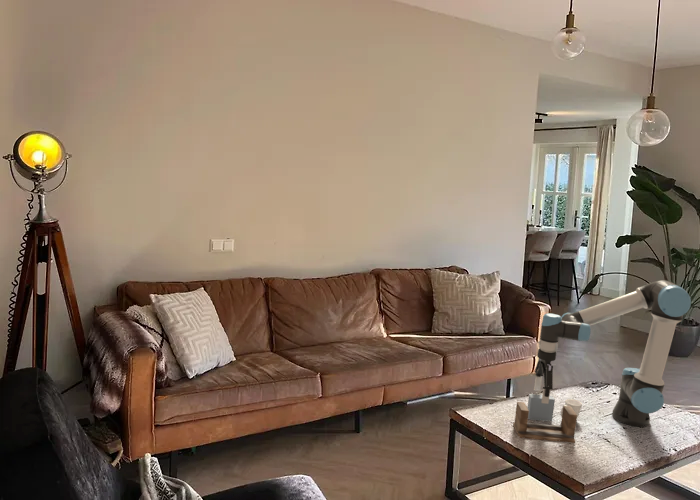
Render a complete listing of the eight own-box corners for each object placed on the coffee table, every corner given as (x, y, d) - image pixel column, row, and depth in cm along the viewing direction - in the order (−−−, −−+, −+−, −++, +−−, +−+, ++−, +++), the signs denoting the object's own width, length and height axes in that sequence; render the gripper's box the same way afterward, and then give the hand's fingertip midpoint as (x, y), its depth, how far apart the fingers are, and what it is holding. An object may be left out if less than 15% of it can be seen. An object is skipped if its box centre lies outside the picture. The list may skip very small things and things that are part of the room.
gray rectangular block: (549, 417, 258) (552, 395, 256) (552, 421, 254) (554, 399, 252) (526, 415, 258) (529, 393, 257) (528, 419, 254) (531, 397, 253)
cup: (583, 422, 255) (585, 404, 254) (566, 425, 251) (568, 407, 250) (571, 415, 261) (573, 398, 260) (554, 418, 257) (556, 400, 256)
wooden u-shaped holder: (566, 429, 247) (569, 404, 245) (575, 443, 235) (578, 417, 233) (513, 424, 248) (516, 399, 246) (519, 437, 236) (522, 411, 234)
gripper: (531, 340, 264) (525, 384, 267) (546, 358, 239) (539, 407, 242) (548, 341, 263) (542, 386, 267) (564, 360, 239) (557, 409, 242)
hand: (540, 396), depth 255 cm, fingers open, 13 cm apart
